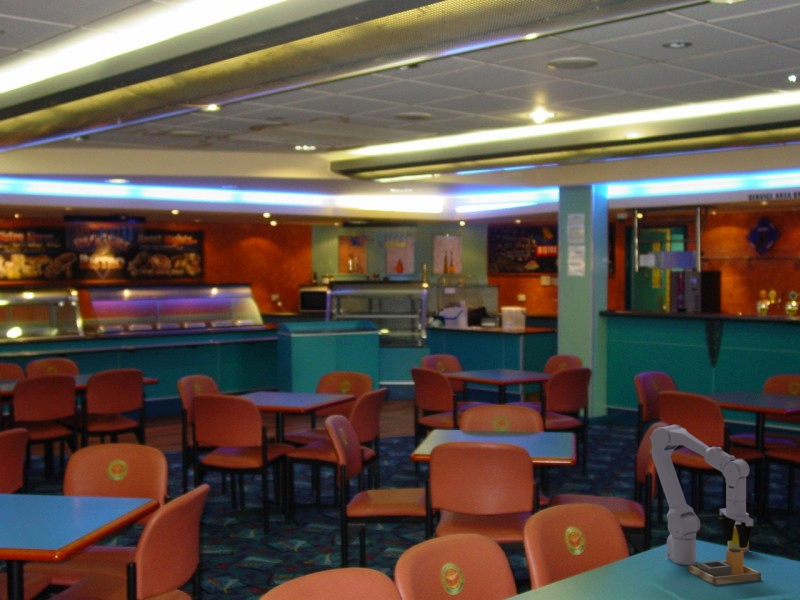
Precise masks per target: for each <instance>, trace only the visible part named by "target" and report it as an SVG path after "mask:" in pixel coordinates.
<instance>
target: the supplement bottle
mask: <svg viewBox="0 0 800 600" xmlns="http://www.w3.org/2000/svg"><path fill="white" fill-rule="evenodd" d="M735 524H741V523H740V522H738V521H736V522H735ZM730 548H738V549H741V551H743V552H744V553H747V551H748V552H749V551H750V549H749V548H750V540H749V541H748V545H747V547H746V548H740V546H739V538H738V532H737V529H736V527H735V525H734V531H733V539H732V541H727V550H729V549H730Z"/></svg>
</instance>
